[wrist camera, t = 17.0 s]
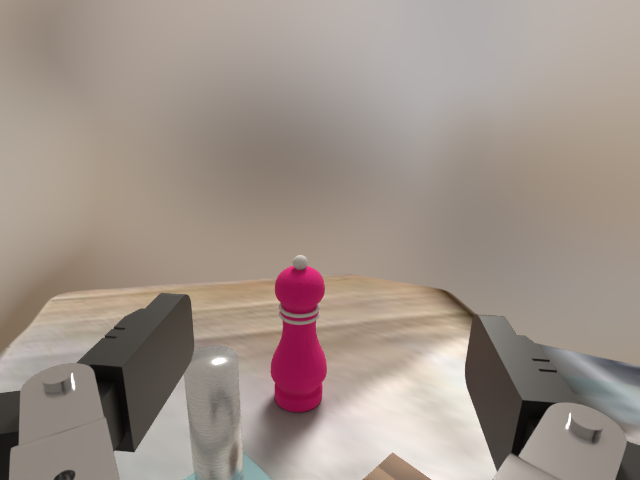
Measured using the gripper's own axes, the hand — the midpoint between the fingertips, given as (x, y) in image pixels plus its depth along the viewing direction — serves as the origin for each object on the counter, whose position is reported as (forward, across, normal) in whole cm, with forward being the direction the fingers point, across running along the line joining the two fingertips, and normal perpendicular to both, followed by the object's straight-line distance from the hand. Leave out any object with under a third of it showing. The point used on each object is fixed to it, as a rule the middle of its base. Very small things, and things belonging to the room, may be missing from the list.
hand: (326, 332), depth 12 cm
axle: (+16, +9, +31) cm, 36 cm away
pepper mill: (+37, +6, +32) cm, 49 cm away
